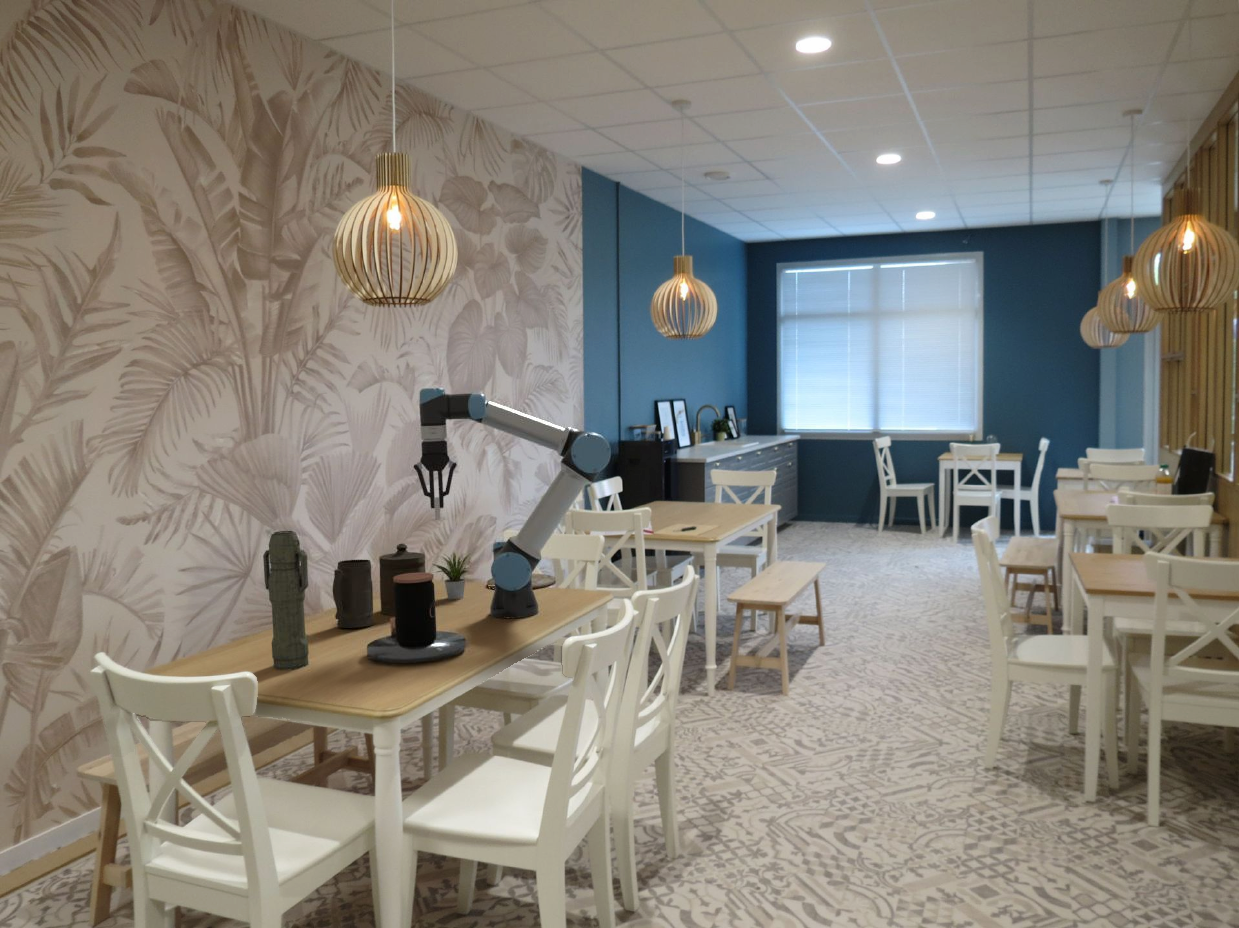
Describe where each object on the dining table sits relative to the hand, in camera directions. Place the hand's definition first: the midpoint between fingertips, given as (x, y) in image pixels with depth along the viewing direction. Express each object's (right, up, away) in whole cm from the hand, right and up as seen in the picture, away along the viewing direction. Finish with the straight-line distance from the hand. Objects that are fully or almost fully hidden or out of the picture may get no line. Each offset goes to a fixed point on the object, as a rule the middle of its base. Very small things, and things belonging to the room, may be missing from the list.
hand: (437, 519), depth 293 cm
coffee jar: (0, -32, -29) cm, 43 cm away
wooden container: (-16, -32, +27) cm, 44 cm away
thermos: (-31, -36, -37) cm, 61 cm away
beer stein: (-27, -33, +5) cm, 43 cm away
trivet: (+18, -28, +67) cm, 75 cm away
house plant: (-2, -30, +46) cm, 55 cm away
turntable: (0, -34, -29) cm, 45 cm away
